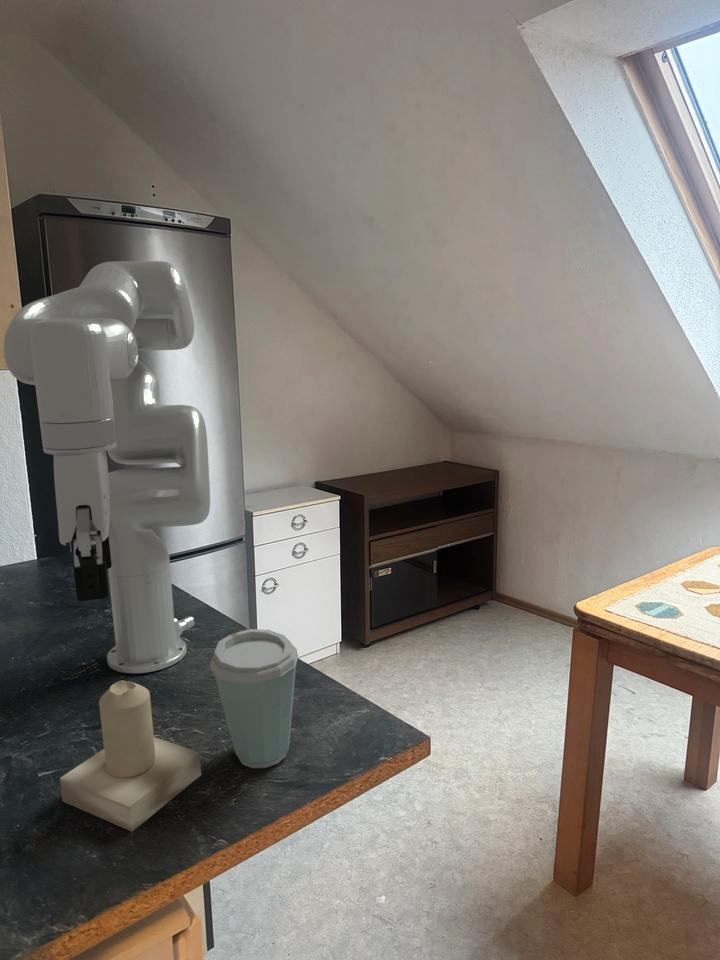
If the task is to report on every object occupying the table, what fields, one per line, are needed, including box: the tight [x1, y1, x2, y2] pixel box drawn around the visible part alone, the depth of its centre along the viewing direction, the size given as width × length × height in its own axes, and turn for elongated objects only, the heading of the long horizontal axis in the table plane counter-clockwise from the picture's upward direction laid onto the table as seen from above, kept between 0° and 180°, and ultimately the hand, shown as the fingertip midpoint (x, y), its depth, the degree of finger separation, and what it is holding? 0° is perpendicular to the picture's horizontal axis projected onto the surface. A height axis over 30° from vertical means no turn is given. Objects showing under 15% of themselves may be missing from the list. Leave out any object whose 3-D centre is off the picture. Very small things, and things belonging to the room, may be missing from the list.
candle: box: [98, 679, 155, 778], centre depth 80 cm, size 6×6×10 cm
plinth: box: [59, 736, 202, 833], centre depth 81 cm, size 11×11×3 cm
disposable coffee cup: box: [209, 628, 299, 769], centre depth 86 cm, size 11×11×15 cm
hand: (95, 583), depth 80 cm, fingers open, 9 cm apart
